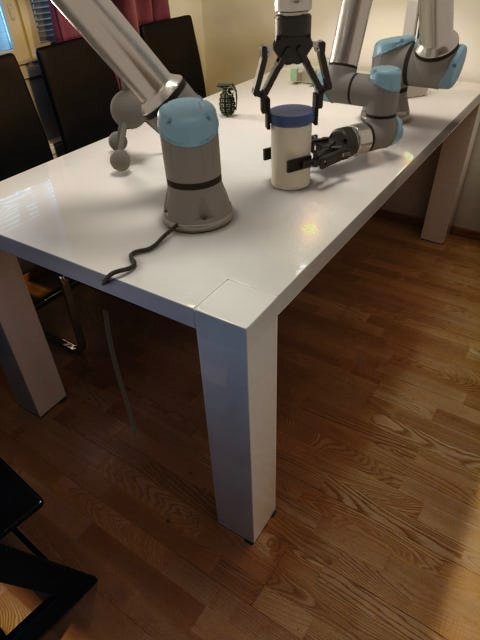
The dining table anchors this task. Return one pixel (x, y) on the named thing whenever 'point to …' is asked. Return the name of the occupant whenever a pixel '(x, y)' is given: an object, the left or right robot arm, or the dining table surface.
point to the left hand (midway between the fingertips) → (291, 125)
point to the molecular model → (124, 125)
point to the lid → (292, 115)
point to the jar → (289, 155)
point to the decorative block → (301, 74)
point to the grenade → (227, 99)
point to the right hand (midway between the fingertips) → (275, 160)
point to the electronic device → (410, 29)
